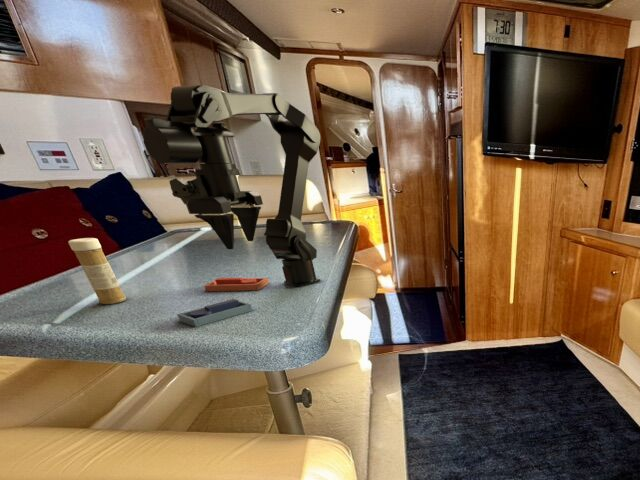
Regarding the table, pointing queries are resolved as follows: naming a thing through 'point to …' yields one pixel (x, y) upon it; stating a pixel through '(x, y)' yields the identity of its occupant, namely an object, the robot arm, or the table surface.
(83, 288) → the table surface
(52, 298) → the table surface
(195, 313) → the navy spoon
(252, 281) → the brick-red spoon
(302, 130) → the robot arm
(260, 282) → the terracotta tray
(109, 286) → the sprinkles bottle
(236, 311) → the grey tray
